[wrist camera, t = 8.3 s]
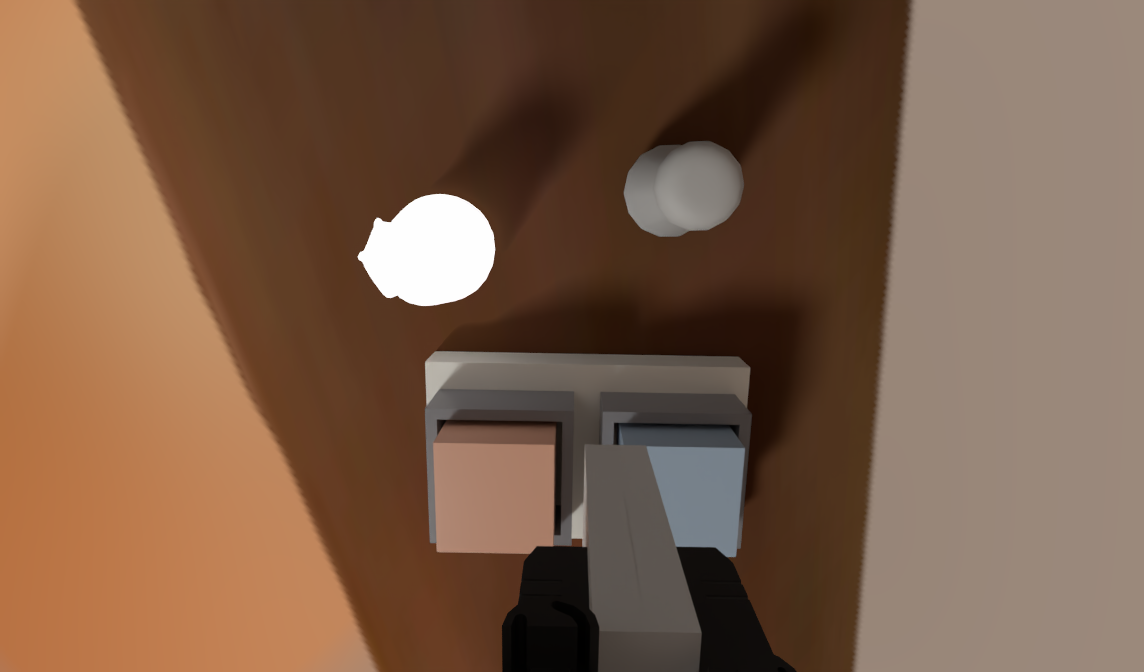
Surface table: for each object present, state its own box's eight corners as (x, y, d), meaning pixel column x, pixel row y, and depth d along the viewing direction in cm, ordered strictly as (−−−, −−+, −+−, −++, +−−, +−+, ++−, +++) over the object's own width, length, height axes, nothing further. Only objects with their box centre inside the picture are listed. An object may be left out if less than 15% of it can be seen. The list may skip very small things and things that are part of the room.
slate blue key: (617, 416, 39) (623, 446, 34) (723, 417, 39) (745, 448, 34) (614, 512, 41) (619, 554, 36) (716, 514, 41) (735, 557, 36)
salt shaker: (723, 197, 41) (790, 194, 28) (657, 252, 42) (693, 273, 29) (670, 129, 40) (714, 94, 27) (604, 186, 41) (617, 177, 28)
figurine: (404, 184, 41) (335, 175, 29) (506, 207, 41) (478, 208, 29) (388, 285, 42) (316, 316, 31) (486, 307, 43) (452, 346, 31)
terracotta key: (450, 413, 39) (433, 442, 34) (556, 415, 39) (554, 444, 34) (453, 510, 41) (437, 552, 36) (555, 512, 41) (553, 553, 36)
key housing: (435, 351, 43) (409, 378, 36) (738, 356, 43) (769, 385, 36) (440, 514, 46) (417, 568, 39) (725, 519, 46) (751, 574, 39)
